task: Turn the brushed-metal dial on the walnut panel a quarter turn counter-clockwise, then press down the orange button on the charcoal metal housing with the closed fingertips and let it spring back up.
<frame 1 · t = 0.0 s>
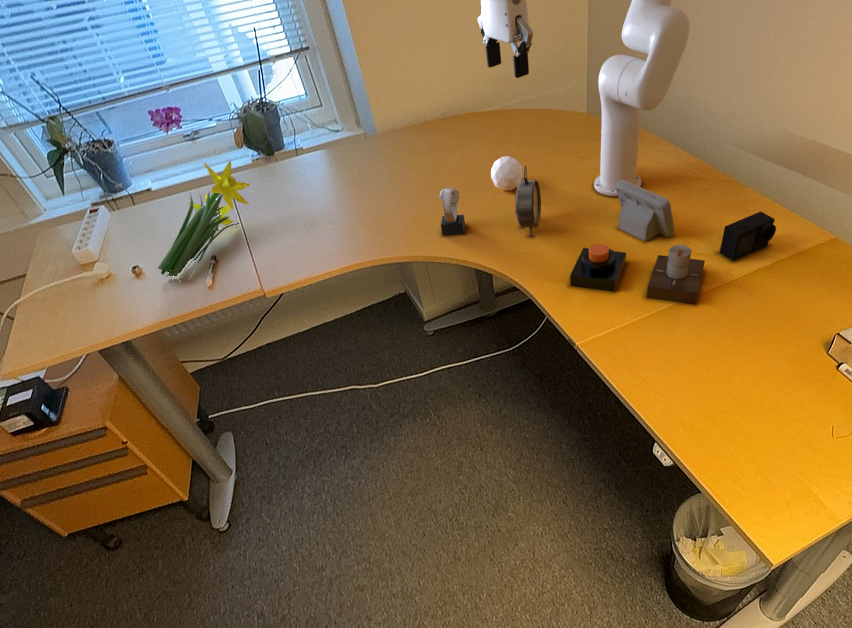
hand: (507, 70, 119), 37 cm above the table, tool pointing down, fingers open, 9 cm apart
start button: (598, 253, 126), point 6 cm above the table, slide at 0.1 cm
digital camera: (745, 251, 131), on the table
digital clock: (643, 229, 141), on the table
white faceted rounded piece: (508, 186, 163), on the table
daffodil flowers: (215, 251, 155), on the table
dial: (678, 261, 121), point 6 cm above the table, hinge at 0.0°
button box: (598, 274, 130), on the table
alarm clock: (529, 228, 147), on the table
dial panel: (675, 284, 125), on the table
watch: (454, 230, 150), on the table
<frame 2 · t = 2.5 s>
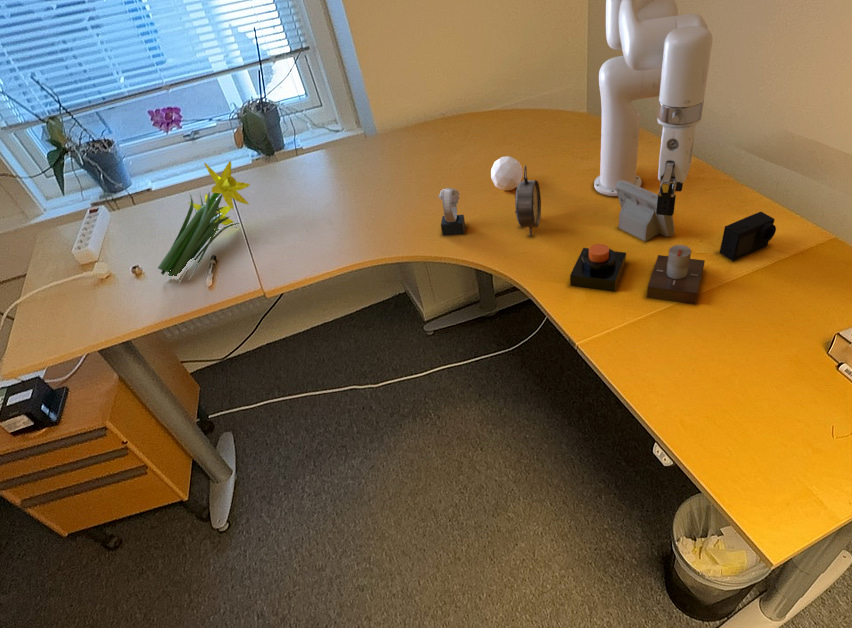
hand: (669, 202, 113), 19 cm above the table, tool pointing down, fingers open, 9 cm apart
nothing on the table moved.
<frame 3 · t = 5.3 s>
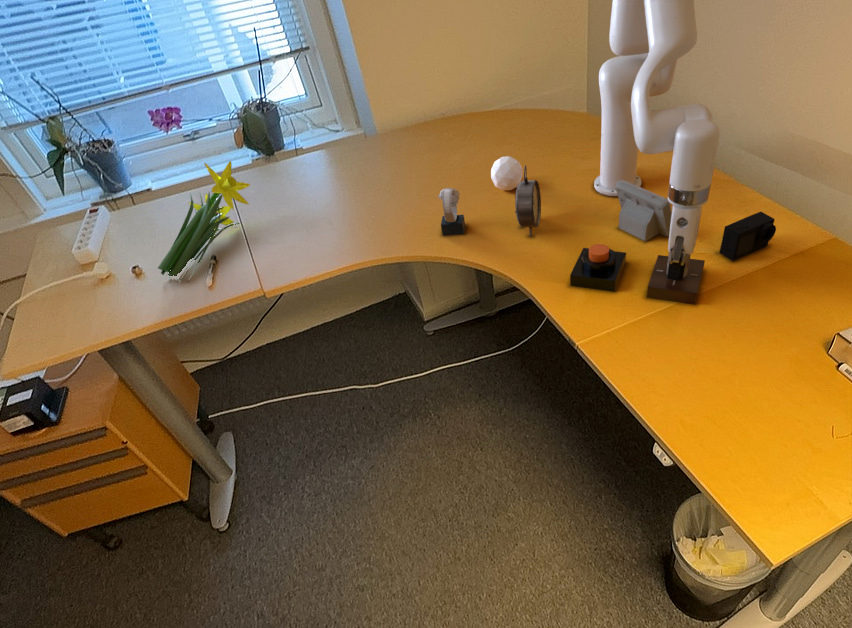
hand: (677, 271, 122), 4 cm above the table, tool pointing down, fingers closed on dial, 4 cm apart
dial: (678, 261, 121), point 6 cm above the table, hinge at -0.2°, touching gripper
everything else where it was.
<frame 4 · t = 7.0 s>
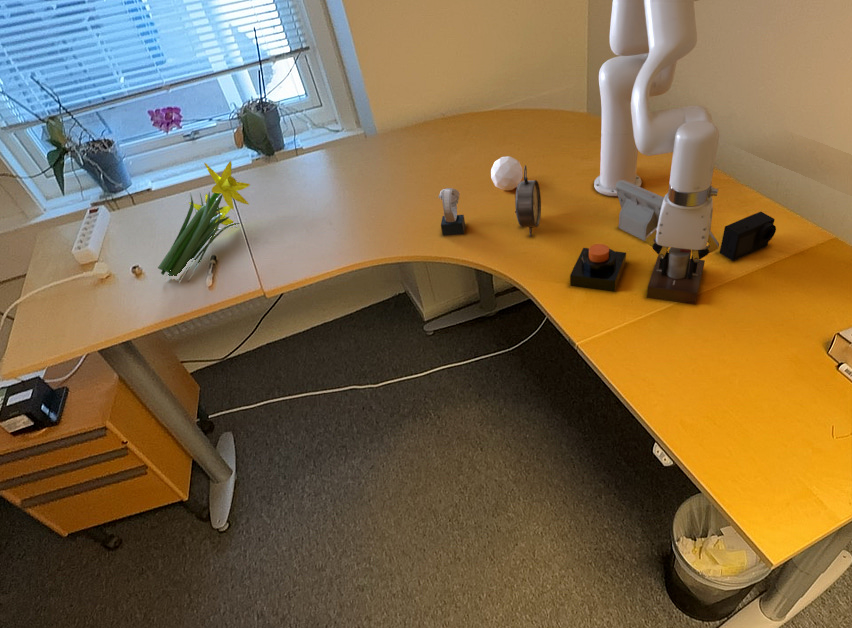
hand: (677, 272, 122), 3 cm above the table, tool pointing down, fingers open, 4 cm apart
dial: (678, 261, 121), point 6 cm above the table, hinge at 92.5°
everything else where it was.
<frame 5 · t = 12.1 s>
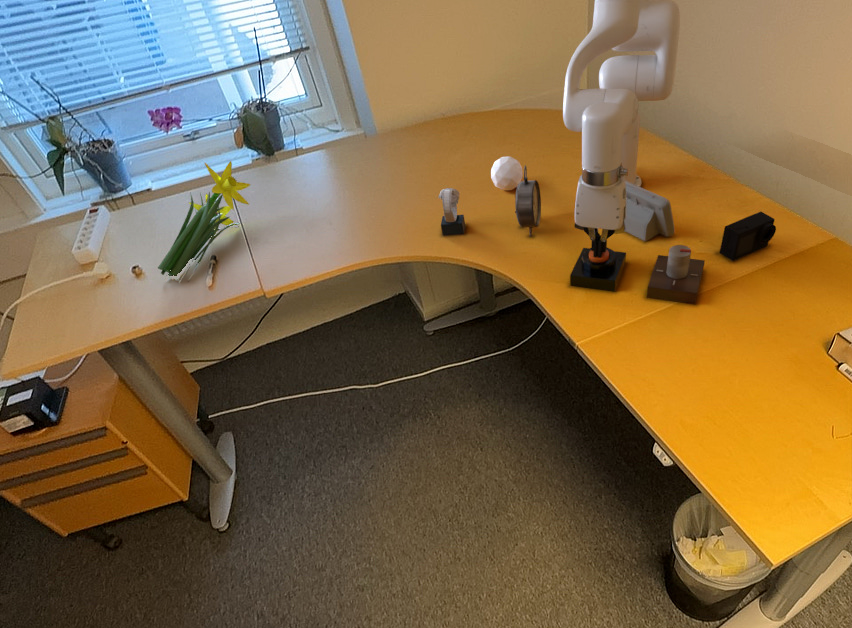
hand: (598, 253, 126), 6 cm above the table, tool pointing down, fingers closed
start button: (598, 257, 127), point 5 cm above the table, slide at -1.0 cm, touching gripper
everything else where it was.
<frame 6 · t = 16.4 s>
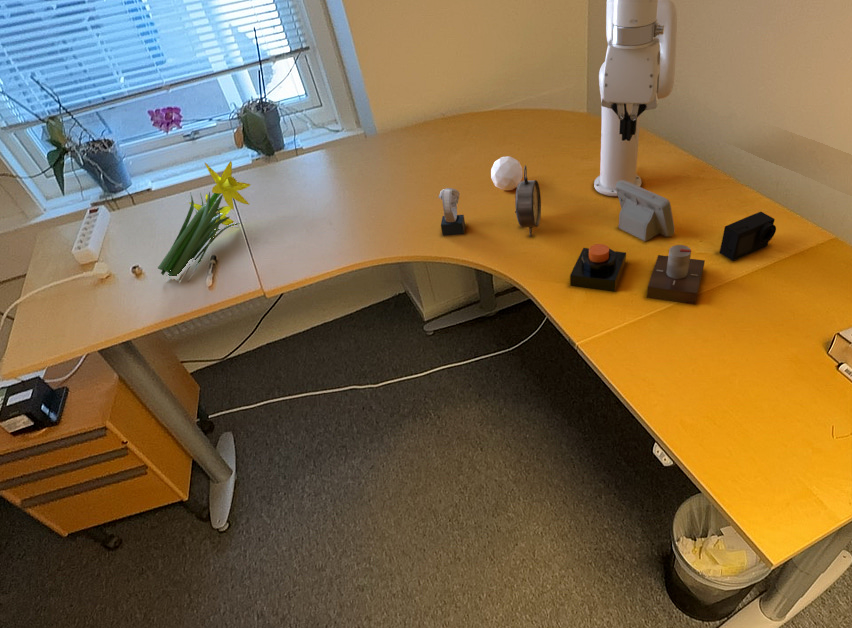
hand: (627, 137, 115), 27 cm above the table, tool pointing down, fingers closed
start button: (598, 253, 126), point 6 cm above the table, slide at 0.1 cm
everything else where it was.
at the end: dial at +93° (first picture: +0°); start button pushed in 1.4 cm at the most during the clip, back to where it started at the end; start button slide at 0.1 cm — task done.
